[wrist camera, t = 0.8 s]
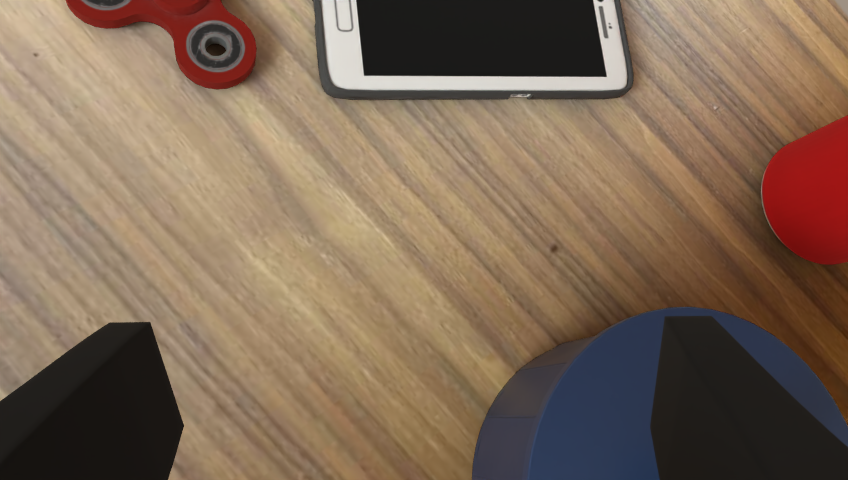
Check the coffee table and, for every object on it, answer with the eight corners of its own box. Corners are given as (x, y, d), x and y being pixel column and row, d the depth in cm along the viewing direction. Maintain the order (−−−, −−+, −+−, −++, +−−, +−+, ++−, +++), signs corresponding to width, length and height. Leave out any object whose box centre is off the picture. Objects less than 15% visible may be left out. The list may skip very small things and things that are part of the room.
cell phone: (305, -60, 32) (307, -74, 31) (601, -43, 36) (611, -55, 35) (319, 102, 31) (322, 92, 30) (628, 101, 35) (639, 92, 34)
